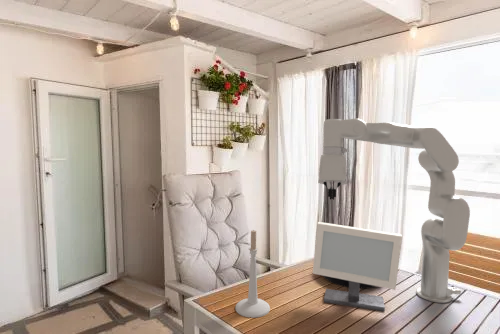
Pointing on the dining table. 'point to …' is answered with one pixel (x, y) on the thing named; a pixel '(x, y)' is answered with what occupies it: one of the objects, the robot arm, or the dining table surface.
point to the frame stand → (354, 298)
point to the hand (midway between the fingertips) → (331, 198)
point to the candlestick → (252, 289)
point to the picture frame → (357, 254)
